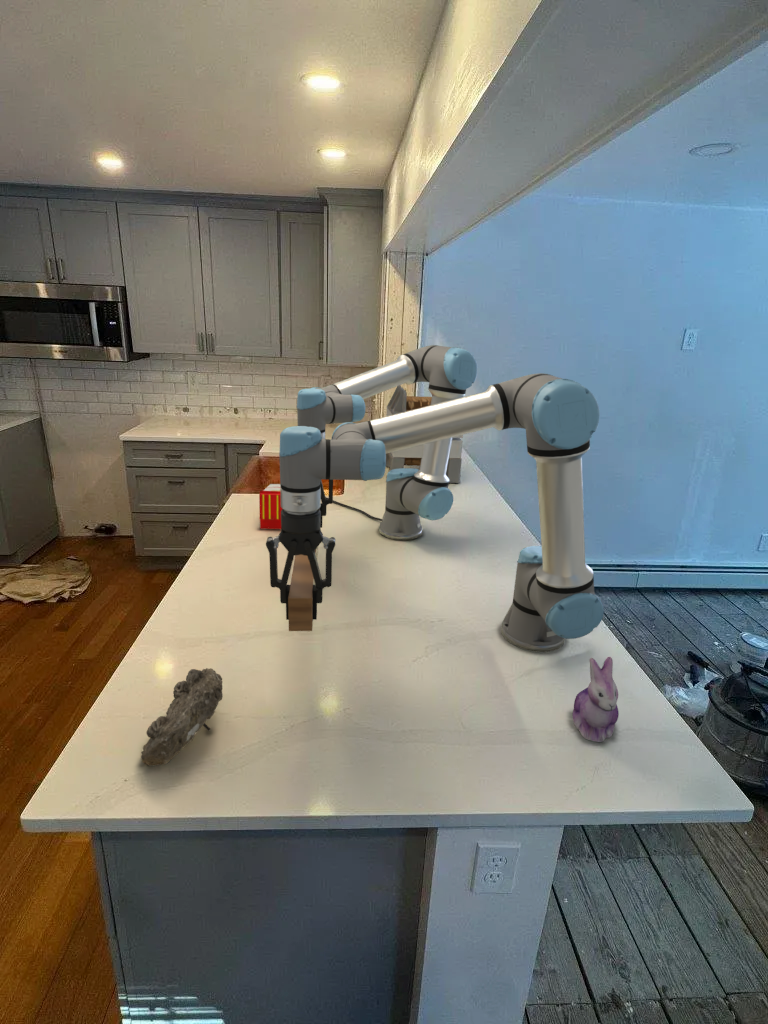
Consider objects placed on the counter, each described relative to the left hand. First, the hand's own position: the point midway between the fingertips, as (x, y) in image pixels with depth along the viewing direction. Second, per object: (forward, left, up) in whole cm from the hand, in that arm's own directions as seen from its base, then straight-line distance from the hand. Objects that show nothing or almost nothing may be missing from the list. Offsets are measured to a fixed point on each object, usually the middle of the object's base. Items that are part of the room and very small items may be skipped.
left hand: (311, 525), depth 163 cm
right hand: (+41, -30, 0) cm, 51 cm away
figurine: (+88, +6, -15) cm, 90 cm away
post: (+21, -15, -1) cm, 25 cm away
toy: (-47, +16, -15) cm, 52 cm away
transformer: (-60, +103, -15) cm, 120 cm away
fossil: (+41, -55, -15) cm, 70 cm away
